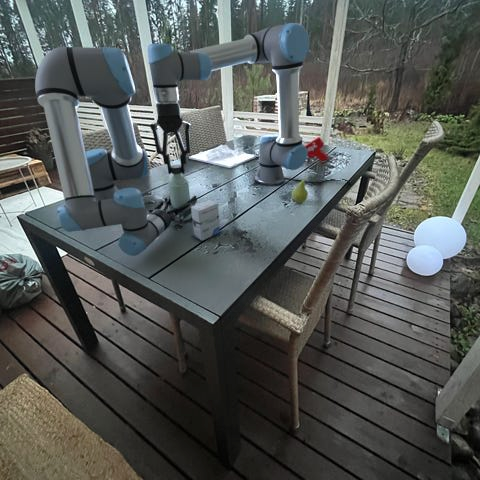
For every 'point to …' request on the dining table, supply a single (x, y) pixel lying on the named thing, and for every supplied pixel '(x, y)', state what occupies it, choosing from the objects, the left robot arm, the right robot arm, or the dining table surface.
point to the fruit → (300, 192)
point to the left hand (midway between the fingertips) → (186, 197)
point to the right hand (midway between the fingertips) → (176, 172)
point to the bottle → (179, 192)
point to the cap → (176, 169)
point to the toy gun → (316, 149)
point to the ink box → (205, 219)
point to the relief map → (223, 156)
